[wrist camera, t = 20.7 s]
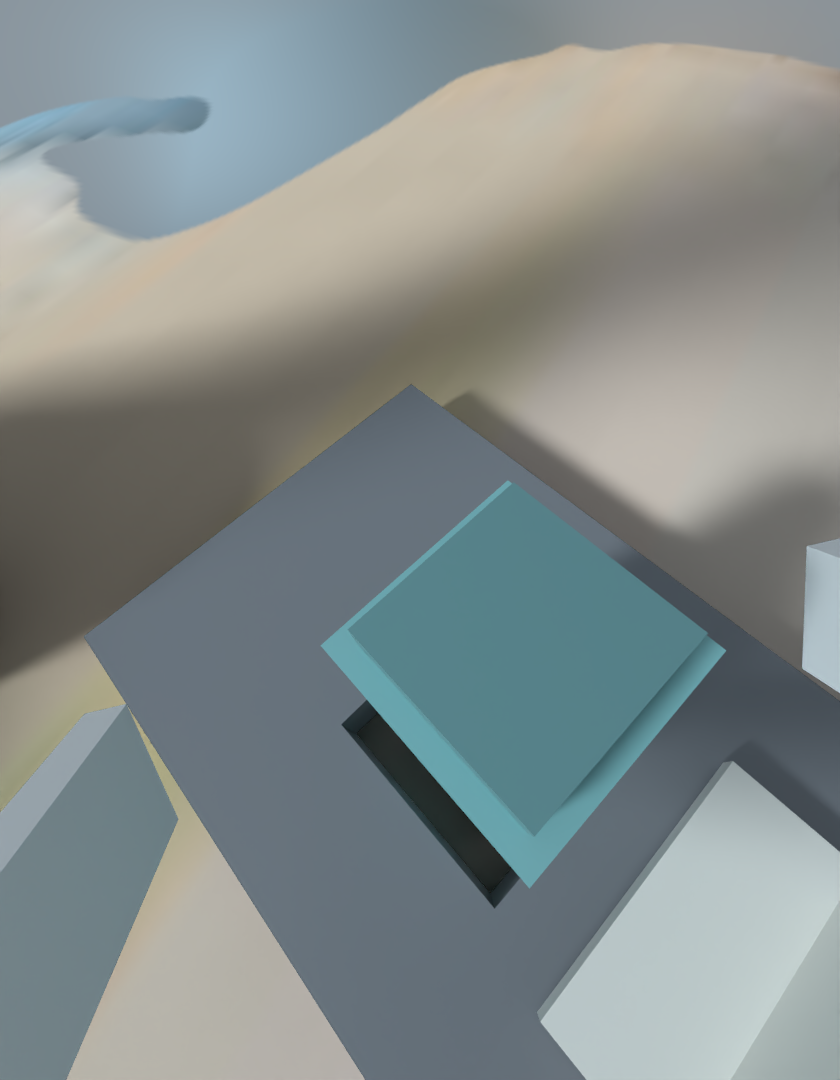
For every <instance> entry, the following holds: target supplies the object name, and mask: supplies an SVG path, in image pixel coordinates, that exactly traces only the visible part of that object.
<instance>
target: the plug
mask: <svg viewBox="0 0 840 1080" xmlns="http://www.w3.org/2000/svg"><path fill="white" fill-rule="evenodd" d="M707 634H708V633H707V632H706V631H705V630H703V629H702V628H701V627H700V626H698V625H697V624H696V623H694V622H693V621H692V620H691V619H689V618H688V617H687V616H685V615H684V614H683V613H682V612H680V611H679V610H678V609H676V608H675V607H674V606H673V605H671V604H670V603H669V602H667V601H666V600H665V599H664V598H662V597H661V596H660V595H658V594H657V593H656V592H654V591H653V590H652V589H651V588H649V587H648V586H647V585H645V584H644V583H643V582H642V581H640V580H639V579H638V578H636V577H635V576H634V575H633V574H631V573H630V572H629V571H627V570H626V569H625V568H624V567H622V566H621V565H620V564H618V563H617V562H616V561H615V560H613V559H612V558H611V557H609V556H608V555H607V554H606V553H604V552H603V551H602V550H600V549H599V548H598V547H597V546H595V545H594V544H593V543H591V542H590V541H589V540H588V539H586V538H585V537H584V536H582V535H581V534H580V533H579V532H577V531H576V530H575V529H573V528H572V527H571V526H570V525H568V524H567V523H566V522H564V521H563V520H562V519H561V518H559V517H558V516H557V515H555V514H554V513H553V512H551V511H550V510H549V509H548V508H546V507H545V506H544V505H542V504H541V503H540V502H539V501H537V500H536V499H535V498H533V497H532V496H531V495H530V494H528V493H527V492H526V491H524V490H523V489H522V488H521V487H519V486H518V485H517V484H515V483H514V482H513V483H511V482H509V481H506V482H505V483H504V484H503V485H502V486H501V487H500V488H498V489H497V490H496V491H495V492H494V493H493V494H492V495H491V496H489V497H488V498H487V499H486V500H485V501H484V502H483V503H481V504H480V505H479V506H478V507H477V508H476V509H475V510H474V511H472V512H471V513H470V514H469V515H468V516H467V517H466V518H464V519H463V520H462V521H461V522H460V523H459V524H458V525H457V526H455V527H454V528H453V529H452V530H451V531H450V532H449V533H447V534H446V535H445V536H444V537H443V538H442V539H441V540H440V541H438V542H437V543H436V544H435V545H434V546H433V547H432V548H430V549H429V550H428V551H427V552H426V553H425V554H424V555H423V556H421V557H420V558H419V559H418V560H417V561H416V562H415V563H413V564H412V565H411V566H410V567H409V568H408V569H407V570H406V571H404V572H403V573H402V574H401V575H400V576H399V577H398V578H396V579H395V580H394V581H393V582H392V583H391V584H390V585H389V586H387V587H386V588H385V589H384V590H383V591H382V592H381V593H379V594H378V595H377V596H376V597H375V598H374V599H373V600H372V601H370V602H369V603H368V604H367V605H366V606H365V607H364V608H362V609H361V610H360V611H359V612H358V613H357V614H356V615H355V616H353V617H352V618H351V619H350V620H349V621H348V622H347V623H345V624H344V625H343V626H342V627H341V628H340V629H339V630H338V631H336V632H335V633H334V634H333V635H332V636H331V637H330V638H328V639H327V640H326V641H325V642H324V643H323V644H322V645H321V647H322V648H323V649H324V650H325V651H326V653H327V654H328V655H329V656H330V657H331V658H332V660H333V661H334V662H335V663H336V664H337V665H338V667H339V668H340V669H341V670H342V671H343V672H344V673H345V675H346V676H347V677H348V678H349V679H350V680H351V682H352V683H353V684H354V685H355V686H356V687H357V689H358V690H359V691H360V692H361V693H362V694H363V696H364V697H365V698H366V699H367V700H368V701H369V703H370V704H371V705H372V706H373V707H374V708H375V710H376V711H377V712H378V713H379V714H380V715H381V717H382V718H383V719H384V720H385V721H386V722H387V723H388V725H389V726H390V727H391V728H392V729H393V730H394V732H395V733H396V734H397V735H398V736H399V737H400V739H401V740H402V741H403V742H404V743H405V744H406V746H407V747H408V748H409V749H410V750H411V751H412V753H413V754H414V755H415V756H416V757H417V758H418V760H419V761H420V762H421V763H422V764H423V765H424V767H425V768H426V769H427V770H428V771H429V772H430V773H431V775H432V776H433V777H434V778H435V779H436V780H437V782H438V783H439V784H440V785H441V786H442V787H443V789H444V790H445V791H446V792H447V793H448V794H449V796H450V797H451V798H452V799H453V800H454V801H455V803H456V804H457V805H458V806H459V807H460V808H461V810H462V811H463V812H464V813H465V814H466V815H467V816H468V818H469V819H470V820H471V821H472V822H473V823H474V825H475V826H476V827H477V828H478V829H479V830H480V832H481V833H482V834H483V835H484V836H485V837H486V839H487V840H488V841H489V842H490V843H491V844H492V846H493V847H494V848H495V849H496V850H497V851H498V853H499V854H500V855H501V856H502V857H503V858H504V860H505V861H506V862H507V863H508V864H509V865H510V866H511V868H512V869H513V870H514V871H515V872H516V873H517V875H518V876H519V877H520V878H521V879H522V880H523V882H524V883H525V884H526V885H527V886H528V887H529V889H530V887H531V886H532V885H533V884H534V882H535V881H536V880H537V879H538V878H539V876H540V875H541V874H542V873H543V872H544V870H545V869H546V868H547V867H548V866H549V864H550V863H551V862H552V861H553V860H554V858H555V857H556V856H557V855H558V853H559V852H560V851H561V850H562V849H563V847H564V846H565V845H566V844H567V843H568V841H569V840H570V839H571V838H572V837H573V835H574V834H575V833H576V832H577V831H578V829H579V828H580V827H581V826H582V825H583V823H584V822H585V821H586V820H587V818H588V817H589V816H590V815H591V814H592V812H593V811H594V810H595V809H596V808H597V806H598V805H599V804H600V803H601V802H602V800H603V799H604V798H605V797H606V796H607V794H608V793H609V792H610V791H611V789H612V788H613V787H614V786H615V785H616V783H617V782H618V781H619V780H620V779H621V777H622V776H623V775H624V774H625V773H626V771H627V770H628V769H629V768H630V767H631V765H632V764H633V763H634V762H635V760H636V759H637V758H638V757H639V756H640V754H641V753H642V752H643V751H644V750H645V748H646V747H647V746H648V745H649V744H650V742H651V741H652V740H653V739H654V738H655V736H656V735H657V734H658V733H659V732H660V730H661V729H662V728H663V727H664V725H665V724H666V723H667V722H668V721H669V719H670V718H671V717H672V716H673V715H674V713H675V712H676V711H677V710H678V709H679V707H680V706H681V705H682V704H683V703H684V701H685V700H686V699H687V698H688V696H689V695H690V694H691V693H692V692H693V690H694V689H695V688H696V687H697V686H698V684H699V683H700V682H701V681H702V680H703V678H704V677H705V676H706V675H707V674H708V672H709V671H710V670H711V669H712V668H713V666H714V665H715V664H716V663H717V661H718V660H719V659H720V658H721V657H722V655H723V654H724V653H725V652H726V650H725V649H724V648H722V647H721V646H720V645H719V644H717V643H716V642H715V641H713V640H712V639H711V638H710V637H708V636H707Z"/></svg>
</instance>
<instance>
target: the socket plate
mask: <svg viewBox="0 0 840 1080" xmlns="http://www.w3.org/2000/svg"><path fill="white" fill-rule="evenodd" d="M506 481H509V482H511V483H513V482H514V483H515V484H517V485H518V486H519V487H521V488H522V489H523V490H524V491H526V492H527V493H528V494H530V495H531V496H532V497H533V498H535V499H536V500H537V501H539V502H540V503H541V504H542V505H544V506H545V507H546V508H548V509H549V510H550V511H551V512H553V513H554V514H555V515H557V516H558V517H559V518H561V519H562V520H563V521H564V522H566V523H567V524H568V525H570V526H571V527H572V528H573V529H575V530H576V531H577V532H579V533H580V534H581V535H582V536H584V537H585V538H586V539H588V540H589V541H590V542H591V543H593V544H594V545H595V546H597V547H598V548H599V549H600V550H602V551H603V552H604V553H606V554H607V555H608V556H609V557H611V558H612V559H613V560H615V561H616V562H617V563H618V564H620V565H621V566H622V567H624V568H625V569H626V570H627V571H629V572H630V573H631V574H633V575H634V576H635V577H636V578H638V579H639V580H640V581H642V582H643V583H644V584H645V585H647V586H648V587H649V588H651V589H652V590H653V591H654V592H656V593H657V594H658V595H660V596H661V597H662V598H664V599H665V600H666V601H667V602H669V603H670V604H671V605H673V606H674V607H675V608H676V609H678V610H679V611H680V612H682V613H683V614H684V615H685V616H687V617H688V618H689V619H691V620H692V621H693V622H694V623H696V624H697V625H698V626H700V627H701V628H702V629H703V630H705V631H706V632H707V633H708V634H707V636H708V637H710V638H711V639H712V640H713V641H715V642H716V643H717V644H719V645H720V646H721V647H722V648H724V649H725V650H726V652H725V653H724V654H723V655H722V657H721V658H720V659H719V660H718V661H717V663H716V664H715V665H714V666H713V668H712V669H711V670H710V671H709V672H708V674H707V675H706V676H705V677H704V678H703V680H702V681H701V682H700V683H699V684H698V686H697V687H696V688H695V689H694V690H693V692H692V693H691V694H690V695H689V696H688V698H687V699H686V700H685V701H684V703H683V704H682V705H681V706H680V707H679V709H678V710H677V711H676V712H675V713H674V715H673V716H672V717H671V718H670V719H669V721H668V722H667V723H666V724H665V725H664V727H663V728H662V729H661V730H660V732H659V733H658V734H657V735H656V736H655V738H654V739H653V740H652V741H651V742H650V744H649V745H648V746H647V747H646V748H645V750H644V751H643V752H642V753H641V754H640V756H639V757H638V758H637V759H636V760H635V762H634V763H633V764H632V765H631V767H630V768H629V769H628V770H627V771H626V773H625V774H624V775H623V776H622V777H621V779H620V780H619V781H618V782H617V783H616V785H615V786H614V787H613V788H612V789H611V791H610V792H609V793H608V794H607V796H606V797H605V798H604V799H603V800H602V802H601V803H600V804H599V805H598V806H597V808H596V809H595V810H594V811H593V812H592V814H591V815H590V816H589V817H588V818H587V820H586V821H585V822H584V823H583V825H582V826H581V827H580V828H579V829H578V831H577V832H576V833H575V834H574V835H573V837H572V838H571V839H570V840H569V841H568V843H567V844H566V845H565V846H564V847H563V849H562V850H561V851H560V852H559V853H558V855H557V856H556V857H555V858H554V860H553V861H552V862H551V863H550V864H549V866H548V867H547V868H546V869H545V870H544V872H543V873H542V874H541V875H540V876H539V878H538V879H537V880H536V881H535V882H534V884H533V885H532V886H531V887H530V889H529V887H528V886H527V885H526V884H525V883H524V882H523V880H522V879H521V878H520V877H519V876H518V875H517V873H516V872H515V871H514V870H513V869H512V868H511V870H510V871H509V872H508V873H507V874H506V876H505V877H504V878H503V879H502V880H501V882H500V883H499V884H498V885H497V887H496V888H495V889H494V890H493V891H492V893H491V894H490V892H489V891H488V890H487V889H486V888H485V887H484V885H483V884H482V883H481V882H480V881H479V879H478V878H477V877H476V876H475V875H474V873H473V872H472V871H471V870H470V869H469V867H468V866H467V865H466V864H465V863H464V862H463V860H462V859H461V858H460V857H459V856H458V854H457V853H456V852H455V851H454V850H453V848H452V847H451V846H450V845H449V844H448V842H447V841H446V840H445V839H444V838H443V837H442V835H441V834H440V833H439V832H438V831H437V829H436V828H435V827H434V826H433V825H432V823H431V822H430V821H429V820H428V819H427V817H426V816H425V815H424V814H423V813H422V812H421V810H420V809H419V808H418V807H417V806H416V804H415V803H414V802H413V801H412V800H411V798H410V797H409V796H408V795H407V794H406V792H405V791H404V790H403V789H402V788H401V787H400V785H399V784H398V783H397V782H396V781H395V779H394V778H393V777H392V776H391V775H390V773H389V772H388V771H387V770H386V769H385V767H384V766H383V765H382V764H381V763H380V762H379V760H378V759H377V758H376V757H375V756H374V754H373V753H372V752H371V751H370V750H369V748H368V747H367V746H366V745H365V744H364V742H363V741H362V740H361V739H360V738H359V737H358V735H357V734H356V733H357V732H358V731H359V730H360V729H361V728H362V727H363V726H364V725H365V724H367V723H368V722H369V721H370V720H371V719H372V718H373V717H374V716H375V715H376V714H377V713H378V712H377V711H376V710H375V708H374V707H373V706H372V705H371V704H370V703H369V701H368V700H367V699H366V698H365V697H364V696H363V694H362V693H361V692H360V691H359V690H358V689H357V687H356V686H355V685H354V684H353V683H352V682H351V680H350V679H349V678H348V677H347V676H346V675H345V673H344V672H343V671H342V670H341V669H340V668H339V667H338V665H337V664H336V663H335V662H334V661H333V660H332V658H331V657H330V656H329V655H328V654H327V653H326V651H325V650H324V649H323V648H322V647H321V645H322V644H323V643H324V642H325V641H326V640H327V639H328V638H330V637H331V636H332V635H333V634H334V633H335V632H336V631H338V630H339V629H340V628H341V627H342V626H343V625H344V624H345V623H347V622H348V621H349V620H350V619H351V618H352V617H353V616H355V615H356V614H357V613H358V612H359V611H360V610H361V609H362V608H364V607H365V606H366V605H367V604H368V603H369V602H370V601H372V600H373V599H374V598H375V597H376V596H377V595H378V594H379V593H381V592H382V591H383V590H384V589H385V588H386V587H387V586H389V585H390V584H391V583H392V582H393V581H394V580H395V579H396V578H398V577H399V576H400V575H401V574H402V573H403V572H404V571H406V570H407V569H408V568H409V567H410V566H411V565H412V564H413V563H415V562H416V561H417V560H418V559H419V558H420V557H421V556H423V555H424V554H425V553H426V552H427V551H428V550H429V549H430V548H432V547H433V546H434V545H435V544H436V543H437V542H438V541H440V540H441V539H442V538H443V537H444V536H445V535H446V534H447V533H449V532H450V531H451V530H452V529H453V528H454V527H455V526H457V525H458V524H459V523H460V522H461V521H462V520H463V519H464V518H466V517H467V516H468V515H469V514H470V513H471V512H472V511H474V510H475V509H476V508H477V507H478V506H479V505H480V504H481V503H483V502H484V501H485V500H486V499H487V498H488V497H489V496H491V495H492V494H493V493H494V492H495V491H496V490H497V489H498V488H500V487H501V486H502V485H503V484H504V483H505V482H506ZM84 638H85V639H86V641H87V643H88V644H89V646H90V647H91V649H92V650H93V652H94V654H95V655H96V657H97V658H98V660H99V661H100V663H101V665H102V666H103V668H104V669H105V671H106V672H107V674H108V676H109V677H110V679H111V680H112V682H113V683H114V685H115V687H116V688H117V690H118V691H119V693H120V694H121V696H122V698H123V699H124V701H125V702H126V704H127V705H128V707H129V709H130V710H131V712H132V713H133V715H134V716H135V718H136V720H137V721H138V723H139V724H140V726H141V727H142V729H143V731H144V732H145V734H146V735H147V737H148V738H149V740H150V742H151V743H152V745H153V746H154V748H155V750H156V751H157V753H158V754H159V756H160V757H161V759H162V761H163V762H164V764H165V765H166V767H167V768H168V770H169V772H170V773H171V775H172V776H173V778H174V779H175V781H176V783H177V784H178V786H179V787H180V789H181V790H182V792H183V794H184V795H185V797H186V798H187V800H188V801H189V803H190V805H191V806H192V808H193V809H194V811H195V812H196V814H197V816H198V817H199V819H200V820H201V822H202V823H203V825H204V827H205V828H206V830H207V831H208V833H209V834H210V836H211V838H212V839H213V841H214V842H215V844H216V846H217V847H218V849H219V850H220V852H221V853H222V855H223V857H224V858H225V860H226V861H227V863H228V864H229V866H230V868H231V869H232V871H233V872H234V874H235V875H236V877H237V879H238V880H239V882H240V883H241V885H242V886H243V888H244V890H245V891H246V893H247V894H248V896H249V897H250V899H251V901H252V902H253V904H254V905H255V907H256V908H257V910H258V912H259V913H260V915H261V916H262V918H263V919H264V921H265V923H266V924H267V926H268V927H269V929H270V930H271V932H272V934H273V935H274V937H275V938H276V940H277V942H278V943H279V945H280V946H281V948H282V949H283V951H284V953H285V954H286V956H287V957H288V959H289V960H290V962H291V964H292V965H293V967H294V968H295V970H296V971H297V973H298V975H299V976H300V978H301V979H302V981H303V982H304V984H305V986H306V987H307V989H308V990H309V992H310V993H311V995H312V997H313V998H314V1000H315V1001H316V1003H317V1004H318V1006H319V1008H320V1009H321V1011H322V1012H323V1014H324V1015H325V1017H326V1019H327V1020H328V1022H329V1023H330V1025H331V1026H332V1028H333V1030H334V1031H335V1033H336V1034H337V1036H338V1037H339V1039H340V1041H341V1042H342V1044H343V1045H344V1047H345V1049H346V1050H347V1052H348V1053H349V1055H350V1056H351V1058H352V1060H353V1061H354V1063H355V1064H356V1066H357V1067H358V1069H359V1071H360V1072H361V1074H362V1075H363V1077H364V1078H365V1080H586V1079H585V1077H584V1076H583V1075H582V1074H581V1072H580V1071H579V1070H578V1069H577V1067H576V1066H575V1065H574V1064H573V1062H572V1061H571V1060H570V1059H569V1057H568V1056H567V1055H566V1054H565V1052H564V1051H563V1050H562V1049H561V1047H560V1046H559V1045H558V1044H557V1042H556V1041H555V1040H554V1039H553V1037H552V1036H551V1035H550V1034H549V1032H548V1031H547V1030H546V1028H545V1027H544V1026H543V1025H542V1023H541V1022H540V1020H539V1017H538V1014H537V1011H538V1010H539V1009H540V1007H541V1006H542V1005H543V1003H544V1002H545V1001H546V999H547V998H548V997H549V995H550V994H551V993H552V991H553V990H554V989H555V987H556V986H557V985H558V983H559V982H560V981H561V979H562V978H563V977H564V975H565V974H566V973H567V971H568V970H569V968H570V967H571V966H572V964H573V963H574V962H575V960H576V959H577V958H578V956H579V955H580V954H581V952H582V951H583V950H584V948H585V947H586V946H587V944H588V943H589V942H590V940H591V939H592V938H593V936H594V935H595V934H596V932H597V931H598V930H599V928H600V927H601V926H602V924H603V923H604V922H605V920H606V919H607V918H608V916H609V915H610V914H611V912H612V911H613V910H614V908H615V907H616V905H617V904H618V903H619V901H620V900H621V899H622V897H623V896H624V895H625V893H626V892H627V891H628V889H629V888H630V887H631V885H632V884H633V883H634V881H635V880H636V879H637V877H638V876H639V875H640V873H641V872H642V871H643V869H644V868H645V867H646V865H647V864H648V863H649V861H650V860H651V859H652V857H653V856H654V855H655V853H656V852H657V851H658V849H659V848H660V846H661V845H662V844H663V842H664V841H665V840H666V838H667V837H668V836H669V834H670V833H671V832H672V830H673V829H674V828H675V826H676V825H677V824H678V822H679V821H680V820H681V818H682V817H683V816H684V814H685V813H686V812H687V810H688V809H689V808H690V806H691V805H692V804H693V802H694V801H695V800H696V798H697V797H698V796H699V794H700V793H701V792H702V790H703V789H704V787H705V786H706V785H707V783H708V782H709V781H710V779H711V778H712V777H713V775H714V774H715V773H716V771H717V770H718V769H719V767H720V766H721V765H722V763H723V762H730V761H733V762H735V763H736V764H737V765H738V766H739V767H741V768H742V769H743V770H744V771H745V772H746V773H748V774H749V775H750V776H751V777H752V778H753V779H755V780H756V781H757V782H758V783H759V784H760V785H762V786H763V787H764V788H765V789H766V790H768V791H769V792H770V793H771V794H772V795H773V796H775V797H776V798H777V799H778V800H779V801H780V802H782V803H783V804H784V805H785V806H786V807H787V808H789V809H790V810H791V811H792V812H793V813H795V814H796V815H797V816H798V817H799V818H800V819H802V820H803V821H804V822H805V823H806V824H807V825H809V826H810V827H811V828H812V829H813V830H815V831H816V832H817V833H818V834H819V835H820V836H822V837H823V838H824V839H825V840H826V841H827V842H829V843H830V844H831V845H832V846H833V847H834V848H836V849H837V850H838V851H839V852H840V701H839V700H837V699H836V698H835V697H833V696H832V695H831V694H829V693H828V692H827V691H825V690H824V689H822V688H821V687H820V686H818V685H817V684H816V683H814V682H813V681H812V680H810V679H809V678H808V677H806V676H805V675H804V674H802V673H801V672H800V671H798V670H797V669H795V668H794V667H793V666H791V665H790V664H789V663H787V662H786V661H785V660H783V659H782V658H781V657H779V656H778V655H777V654H775V653H774V652H772V651H771V650H770V649H768V648H767V647H766V646H764V645H763V644H762V643H760V642H759V641H758V640H756V639H755V638H754V637H752V636H751V635H749V634H748V633H747V632H745V631H744V630H743V629H741V628H740V627H739V626H737V625H736V624H735V623H733V622H732V621H731V620H729V619H728V618H726V617H725V616H724V615H722V614H721V613H720V612H718V611H717V610H716V609H714V608H713V607H712V606H710V605H709V604H708V603H706V602H705V601H704V600H702V599H701V598H699V597H698V596H697V595H695V594H694V593H693V592H691V591H690V590H689V589H687V588H686V587H685V586H683V585H682V584H681V583H679V582H678V581H676V580H675V579H674V578H672V577H671V576H670V575H668V574H667V573H666V572H664V571H663V570H662V569H660V568H659V567H658V566H656V565H655V564H653V563H652V562H651V561H649V560H648V559H647V558H645V557H644V556H643V555H641V554H640V553H639V552H637V551H636V550H635V549H633V548H632V547H630V546H629V545H628V544H626V543H625V542H624V541H622V540H621V539H620V538H618V537H617V536H616V535H614V534H613V533H612V532H610V531H609V530H608V529H606V528H605V527H603V526H602V525H601V524H599V523H598V522H597V521H595V520H594V519H593V518H591V517H590V516H589V515H587V514H586V513H585V512H583V511H582V510H580V509H579V508H578V507H576V506H575V505H574V504H572V503H571V502H570V501H568V500H567V499H566V498H564V497H563V496H562V495H560V494H559V493H557V492H556V491H555V490H553V489H552V488H551V487H549V486H548V485H547V484H545V483H544V482H543V481H541V480H540V479H539V478H537V477H536V476H535V475H533V474H532V473H530V472H529V471H528V470H526V469H525V468H524V467H522V466H521V465H520V464H518V463H517V462H516V461H514V460H513V459H512V458H510V457H509V456H507V455H506V454H505V453H503V452H502V451H501V450H499V449H498V448H497V447H495V446H494V445H493V444H491V443H490V442H489V441H487V440H486V439H484V438H483V437H482V436H480V435H479V434H478V433H476V432H475V431H474V430H472V429H471V428H470V427H468V426H467V425H466V424H464V423H463V422H462V421H460V420H459V419H457V418H456V417H455V416H453V415H452V414H451V413H449V412H448V411H447V410H445V409H444V408H443V407H441V406H440V405H439V404H437V403H436V402H434V401H433V400H432V399H430V398H429V397H428V396H426V395H425V394H424V393H422V392H421V391H420V390H418V389H417V388H416V387H414V386H413V385H409V386H408V387H407V388H405V389H404V390H403V391H402V392H400V393H399V394H398V395H396V396H395V397H394V398H393V399H391V400H390V401H389V402H387V403H386V404H385V405H383V406H382V407H381V408H380V409H378V410H377V411H376V412H374V413H373V414H372V415H370V416H369V417H368V418H367V419H365V420H364V421H363V422H361V423H360V424H359V425H357V426H356V427H355V428H354V429H352V430H351V431H350V432H348V433H347V434H346V435H344V436H343V437H342V438H341V439H339V440H338V441H337V442H335V443H334V444H333V445H332V446H330V447H329V448H328V449H326V450H325V451H324V452H322V453H321V454H320V455H319V456H317V457H316V458H315V459H313V460H312V461H311V462H309V463H308V464H307V465H306V466H304V467H303V468H302V469H300V470H299V471H298V472H296V473H295V474H294V475H293V476H291V477H290V478H289V479H287V480H286V481H285V482H283V483H282V484H281V485H280V486H278V487H277V488H276V489H274V490H273V491H272V492H271V493H269V494H268V495H267V496H265V497H264V498H263V499H261V500H260V501H259V502H258V503H256V504H255V505H254V506H252V507H251V508H250V509H248V510H247V511H246V512H245V513H243V514H242V515H241V516H239V517H238V518H237V519H235V520H234V521H233V522H232V523H230V524H229V525H228V526H226V527H225V528H224V529H222V530H221V531H220V532H219V533H217V534H216V535H215V536H213V537H212V538H211V539H210V540H208V541H207V542H206V543H204V544H203V545H202V546H200V547H199V548H198V549H197V550H195V551H194V552H193V553H191V554H190V555H189V556H187V557H186V558H185V559H184V560H182V561H181V562H180V563H178V564H177V565H176V566H174V567H173V568H172V569H171V570H169V571H168V572H167V573H165V574H164V575H163V576H161V577H160V578H159V579H158V580H156V581H155V582H154V583H152V584H151V585H150V586H148V587H147V588H146V589H145V590H143V591H142V592H141V593H139V594H138V595H137V596H136V597H134V598H133V599H132V600H130V601H129V602H128V603H126V604H125V605H124V606H123V607H121V608H120V609H119V610H117V611H116V612H115V613H113V614H112V615H111V616H110V617H108V618H107V619H106V620H104V621H103V622H102V623H100V624H99V625H98V626H97V627H95V628H94V629H93V630H91V631H90V632H89V633H87V634H86V635H85V636H84Z"/></svg>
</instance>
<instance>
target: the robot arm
mask: <svg viewBox="0 0 840 1080" xmlns="http://www.w3.org/2000/svg"><path fill="white" fill-rule="evenodd" d="M802 669H804V670H805V671H807V672H808V673H810V674H811V675H813V676H814V677H816V678H817V679H819V680H820V681H822V682H824V683H825V684H827V685H828V686H830V687H831V688H833V689H834V690H836V691H837V692H839V693H840V538H839V539H835V540H831V541H827V542H822V543H818V544H814V545H809V546H807V554H806V580H805V607H804V633H803V659H802ZM177 821H178V817H177V815H176V813H175V811H174V808H173V806H172V804H171V802H170V800H169V797H168V795H167V793H166V791H165V789H164V786H163V784H162V782H161V780H160V777H159V775H158V773H157V771H156V769H155V766H154V764H153V762H152V760H151V757H150V755H149V753H148V751H147V749H146V746H145V744H144V742H143V740H142V738H141V735H140V733H139V731H138V729H137V726H136V724H135V722H134V720H133V718H132V715H131V713H130V711H129V709H128V707H127V704H125V705H120V706H116V707H112V708H107V709H103V710H99V711H94V712H90V713H86V714H84V715H83V716H82V717H81V719H80V720H79V721H78V722H77V723H76V724H75V726H74V727H73V728H72V729H71V730H70V731H69V733H68V734H67V735H66V736H65V737H64V739H63V740H62V741H61V742H60V743H59V744H58V746H57V747H56V748H55V749H54V750H53V751H52V753H51V754H50V755H49V756H48V757H47V758H46V760H45V761H44V762H43V763H42V764H41V766H40V767H39V768H38V769H37V770H36V771H35V773H34V774H33V775H32V776H31V777H30V778H29V780H28V781H27V782H26V783H25V784H24V785H23V787H22V788H21V789H20V790H19V791H18V793H17V794H16V795H15V796H14V797H13V798H12V800H11V801H10V802H9V803H8V804H7V805H6V807H5V808H4V809H3V810H2V811H1V812H0V1080H66V1079H67V1076H68V1074H69V1072H70V1070H71V1067H72V1065H73V1063H74V1060H75V1058H76V1056H77V1053H78V1051H79V1049H80V1046H81V1044H82V1042H83V1039H84V1037H85V1035H86V1032H87V1030H88V1028H89V1025H90V1023H91V1021H92V1018H93V1016H94V1014H95V1011H96V1009H97V1007H98V1004H99V1002H100V1000H101V998H102V995H103V993H104V991H105V988H106V986H107V984H108V981H109V979H110V977H111V974H112V972H113V970H114V967H115V965H116V963H117V960H118V958H119V956H120V953H121V951H122V949H123V946H124V944H125V942H126V939H127V937H128V935H129V932H130V930H131V928H132V926H133V923H134V921H135V919H136V916H137V914H138V912H139V909H140V907H141V905H142V902H143V900H144V898H145V895H146V893H147V891H148V888H149V886H150V884H151V881H152V879H153V877H154V874H155V872H156V870H157V867H158V865H159V863H160V860H161V858H162V856H163V853H164V851H165V849H166V847H167V844H168V842H169V840H170V837H171V835H172V833H173V830H174V828H175V826H176V823H177Z"/></svg>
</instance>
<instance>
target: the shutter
mask: <svg viewBox="0 0 840 1080" xmlns="http://www.w3.org/2000/svg"><path fill="white" fill-rule="evenodd" d="M537 1014H538V1017H539V1020H540V1022H541V1023H542V1025H543V1026H544V1027H545V1028H546V1030H547V1031H548V1032H549V1034H550V1035H551V1036H552V1037H553V1039H554V1040H555V1041H556V1042H557V1044H558V1045H559V1046H560V1047H561V1049H562V1050H563V1051H564V1052H565V1054H566V1055H567V1056H568V1057H569V1059H570V1060H571V1061H572V1062H573V1064H574V1065H575V1066H576V1067H577V1069H578V1070H579V1071H580V1072H581V1074H582V1075H583V1076H584V1077H585V1079H586V1080H840V852H839V851H838V850H837V849H836V848H834V847H833V846H832V845H831V844H830V843H829V842H827V841H826V840H825V839H824V838H823V837H822V836H820V835H819V834H818V833H817V832H816V831H815V830H813V829H812V828H811V827H810V826H809V825H807V824H806V823H805V822H804V821H803V820H802V819H800V818H799V817H798V816H797V815H796V814H795V813H793V812H792V811H791V810H790V809H789V808H787V807H786V806H785V805H784V804H783V803H782V802H780V801H779V800H778V799H777V798H776V797H775V796H773V795H772V794H771V793H770V792H769V791H768V790H766V789H765V788H764V787H763V786H762V785H760V784H759V783H758V782H757V781H756V780H755V779H753V778H752V777H751V776H750V775H749V774H748V773H746V772H745V771H744V770H743V769H742V768H741V767H739V766H738V765H737V764H736V763H735V762H733V761H730V762H723V763H722V765H721V766H720V767H719V769H718V770H717V771H716V773H715V774H714V775H713V777H712V778H711V779H710V781H709V782H708V783H707V785H706V786H705V787H704V789H703V790H702V792H701V793H700V794H699V796H698V797H697V798H696V800H695V801H694V802H693V804H692V805H691V806H690V808H689V809H688V810H687V812H686V813H685V814H684V816H683V817H682V818H681V820H680V821H679V822H678V824H677V825H676V826H675V828H674V829H673V830H672V832H671V833H670V834H669V836H668V837H667V838H666V840H665V841H664V842H663V844H662V845H661V846H660V848H659V849H658V851H657V852H656V853H655V855H654V856H653V857H652V859H651V860H650V861H649V863H648V864H647V865H646V867H645V868H644V869H643V871H642V872H641V873H640V875H639V876H638V877H637V879H636V880H635V881H634V883H633V884H632V885H631V887H630V888H629V889H628V891H627V892H626V893H625V895H624V896H623V897H622V899H621V900H620V901H619V903H618V904H617V905H616V907H615V908H614V910H613V911H612V912H611V914H610V915H609V916H608V918H607V919H606V920H605V922H604V923H603V924H602V926H601V927H600V928H599V930H598V931H597V932H596V934H595V935H594V936H593V938H592V939H591V940H590V942H589V943H588V944H587V946H586V947H585V948H584V950H583V951H582V952H581V954H580V955H579V956H578V958H577V959H576V960H575V962H574V963H573V964H572V966H571V967H570V968H569V970H568V971H567V973H566V974H565V975H564V977H563V978H562V979H561V981H560V982H559V983H558V985H557V986H556V987H555V989H554V990H553V991H552V993H551V994H550V995H549V997H548V998H547V999H546V1001H545V1002H544V1003H543V1005H542V1006H541V1007H540V1009H539V1010H538V1011H537Z"/></svg>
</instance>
